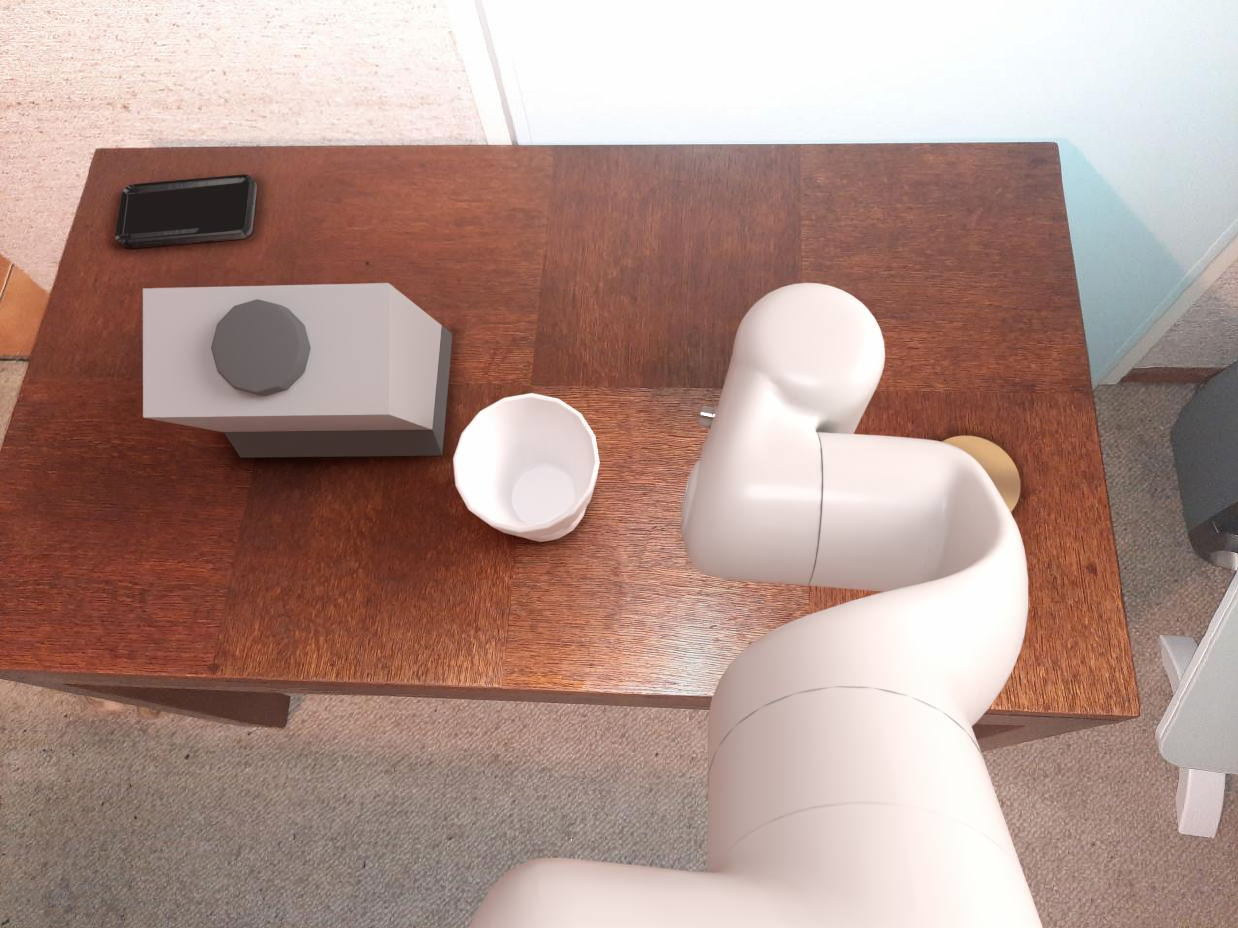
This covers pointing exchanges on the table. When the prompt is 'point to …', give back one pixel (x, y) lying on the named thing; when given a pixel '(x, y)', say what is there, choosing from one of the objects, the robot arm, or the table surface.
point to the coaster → (992, 465)
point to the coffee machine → (298, 368)
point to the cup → (527, 466)
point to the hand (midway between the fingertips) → (755, 524)
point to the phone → (186, 211)
